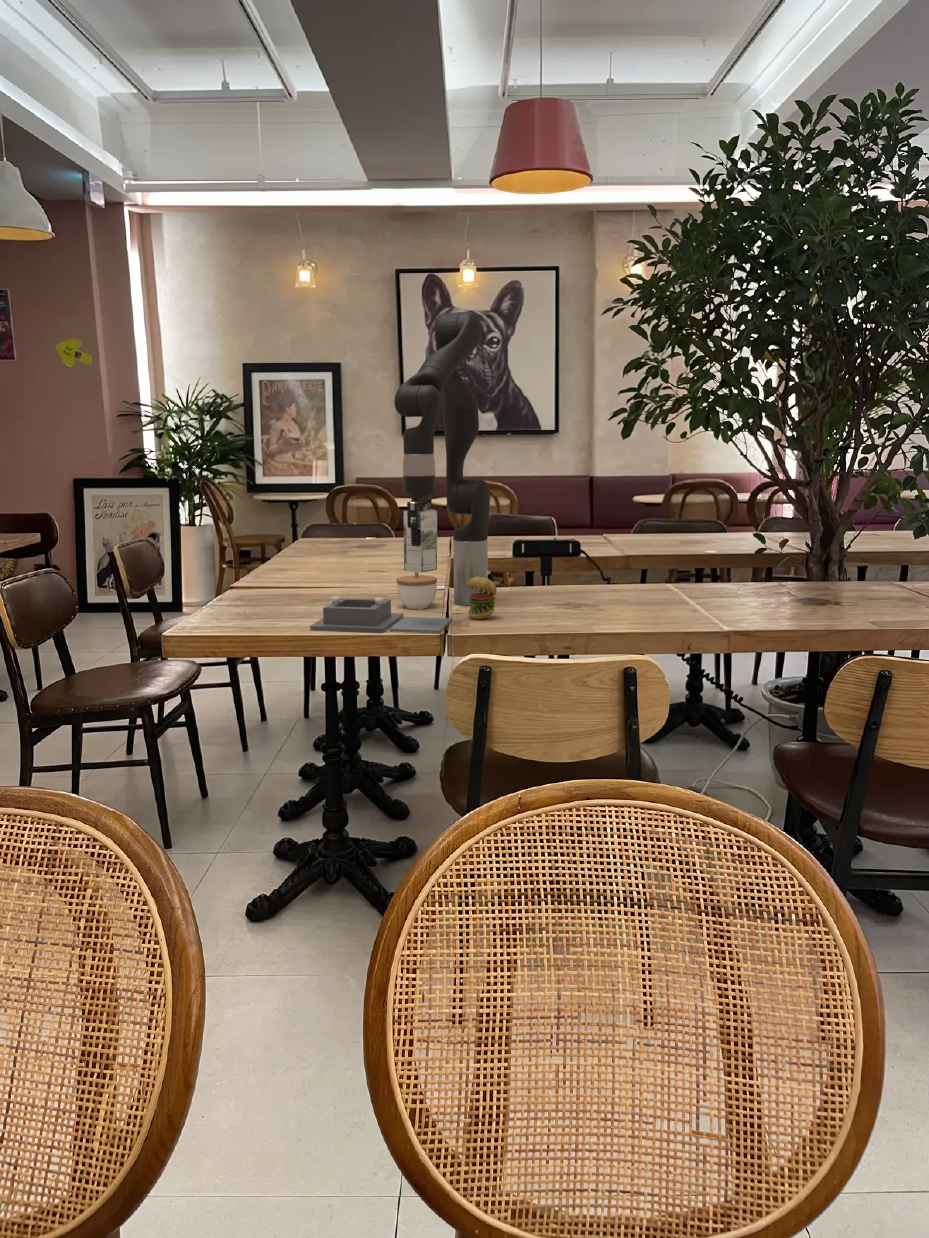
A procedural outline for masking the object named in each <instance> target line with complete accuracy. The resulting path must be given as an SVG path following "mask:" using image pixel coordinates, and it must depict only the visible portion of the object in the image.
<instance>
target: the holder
mask: <svg viewBox="0 0 929 1238" xmlns="http://www.w3.org/2000/svg"><path fill="white" fill-rule="evenodd" d="M322 616H323V618H321V619H320V620H318V621H316V622H314V623H313V624H311V625H310V626H309V630H310V631H317V632H318V631H321V632H322V631H324V632H351V633H371V634H372V633H374V634H376V633H377V634H384V633H385V632H387V631H388V630H390V628H391V626H392V627H393V626H394V625H395V623H396V624H397V623H398V622H399V620H400V619H401V620H402V619H403V618H404V617H405V615H404V613H399V612H394V613H393V612H392V601H391V598H390V599H387V598H386V599H385V598H384V597H382V596H381V597H380V596H379V597H375V598H357V597H356V598H354V597H353V598H352V597H341V596H339V595H335V596H334V595H333V596H331V603H329V604H327V605H326V606H324V607H322Z"/></svg>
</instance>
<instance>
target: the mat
mask: <svg viewBox="0 0 929 1238" xmlns="http://www.w3.org/2000/svg"><path fill="white" fill-rule="evenodd" d="M452 622H453V618H449V617H425V616H424V617H422V616H419V617H418V616H404V617H403V618H402V619H401V620H400V621H398V622H397V623H396V624H394V625H393V626H392V627H390V628H389V632H399V633H400V632H403V633H424V634H425V633H428V634H429V633H431V634H432V633H433V634H440V633H441V632H442V631H443V630H445V628H446V627H448V625H449V624H451V623H452Z"/></svg>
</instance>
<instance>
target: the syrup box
mask: <svg viewBox="0 0 929 1238" xmlns="http://www.w3.org/2000/svg"><path fill="white" fill-rule="evenodd" d="M412 512H413V511H412ZM422 515H423V512H419V516H420V517H422ZM414 523H416V521H415V522H414ZM407 524H408V518H407V510H403V571H404V572H412V573H415V572H419V573H427V572H432V571H437V570H438V511H437V510H436V509H427V510H426V511H425V512H424V521H421V545H420V546H412V545H411V530H410V528H408V526H407Z"/></svg>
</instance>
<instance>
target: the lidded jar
mask: <svg viewBox="0 0 929 1238" xmlns="http://www.w3.org/2000/svg"><path fill="white" fill-rule="evenodd" d="M419 573H420V572H414V575H403V576H399V577H397V578H396V584H397V587H396V588H397V594H398V595H397V596H398V598H399V600H400V602H401V603H402V604H403V605H404V606H405V609H409V610H410V609H411V610H422V609H423V610H424V609H427V608H429V607H430V605H431V604H432V603H433V602H434V600H435V598H436V594H437V587H438V586H437V582H438V579H437V577H436V576H432V575H422V574H421V575H420V574H419Z"/></svg>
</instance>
